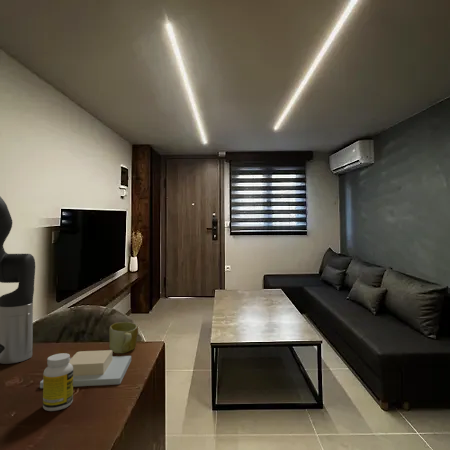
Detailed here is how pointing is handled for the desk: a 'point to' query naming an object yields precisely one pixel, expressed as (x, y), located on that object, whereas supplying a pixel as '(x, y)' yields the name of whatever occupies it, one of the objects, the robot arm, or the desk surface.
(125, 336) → the mug
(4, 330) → the robot arm
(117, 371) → the board
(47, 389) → the pill bottle
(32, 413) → the desk surface
